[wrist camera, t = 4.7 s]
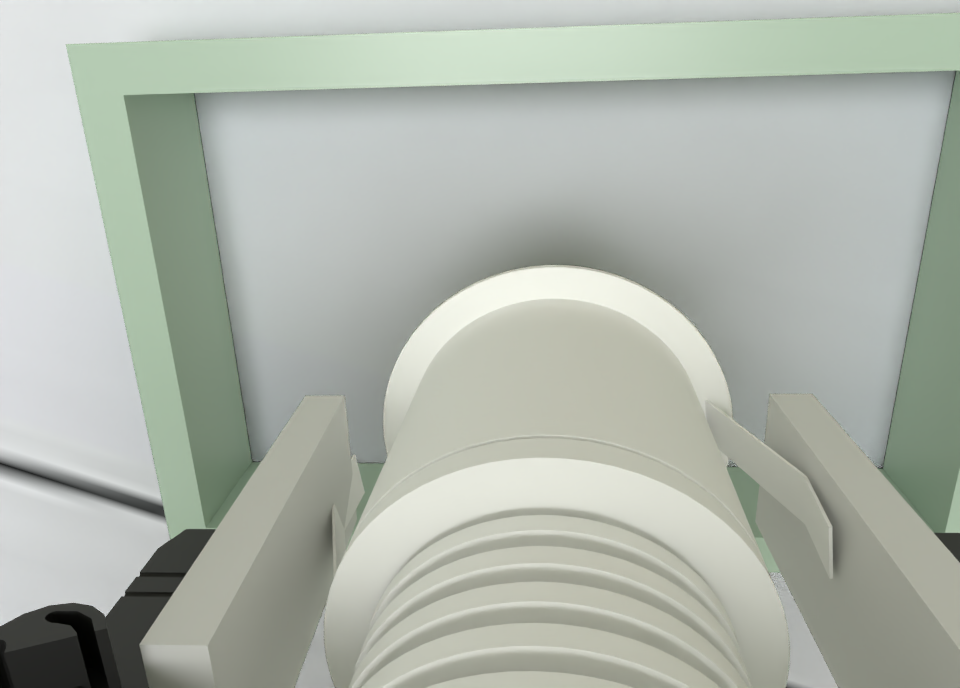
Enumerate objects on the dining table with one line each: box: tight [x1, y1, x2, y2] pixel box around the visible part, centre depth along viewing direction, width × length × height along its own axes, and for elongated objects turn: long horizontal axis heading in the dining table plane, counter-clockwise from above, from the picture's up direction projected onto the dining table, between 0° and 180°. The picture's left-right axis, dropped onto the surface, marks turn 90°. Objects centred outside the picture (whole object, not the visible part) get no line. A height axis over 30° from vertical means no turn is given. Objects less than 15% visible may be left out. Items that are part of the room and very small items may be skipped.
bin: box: [66, 13, 960, 573], centre depth 22 cm, size 24×15×4 cm, turn 92°
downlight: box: [324, 265, 833, 688], centre depth 11 cm, size 8×7×10 cm
